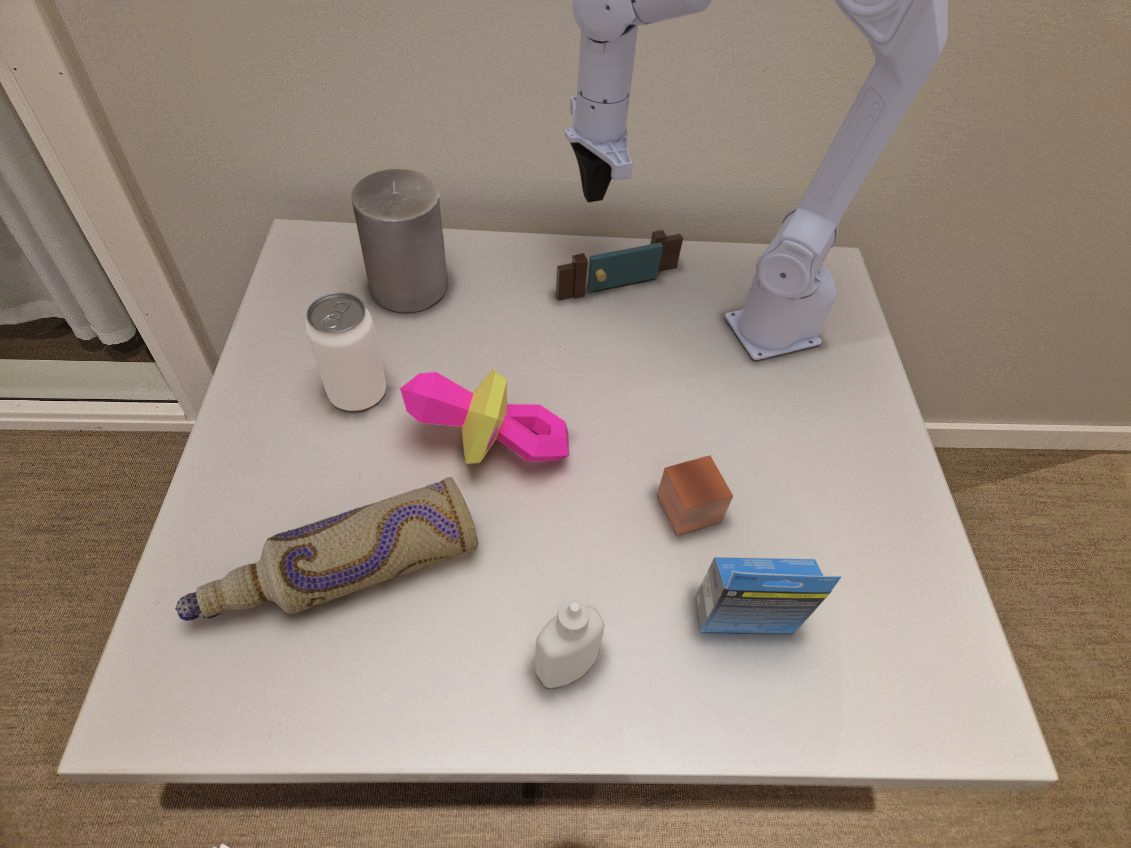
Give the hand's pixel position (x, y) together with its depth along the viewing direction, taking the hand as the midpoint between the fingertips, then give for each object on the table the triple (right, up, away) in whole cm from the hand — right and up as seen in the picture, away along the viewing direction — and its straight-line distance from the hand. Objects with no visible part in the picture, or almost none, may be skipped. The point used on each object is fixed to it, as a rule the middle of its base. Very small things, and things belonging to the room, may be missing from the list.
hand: (593, 198), depth 89 cm
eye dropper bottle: (-3, -49, -25) cm, 55 cm away
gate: (+4, -10, +5) cm, 11 cm away
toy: (-12, -30, -11) cm, 34 cm away
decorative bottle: (-24, -41, -21) cm, 52 cm away
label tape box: (+13, -45, -22) cm, 52 cm away
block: (+9, -36, -15) cm, 40 cm away
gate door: (+4, -10, +4) cm, 11 cm away
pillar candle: (-23, -11, +3) cm, 25 cm away
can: (-27, -24, -8) cm, 37 cm away
